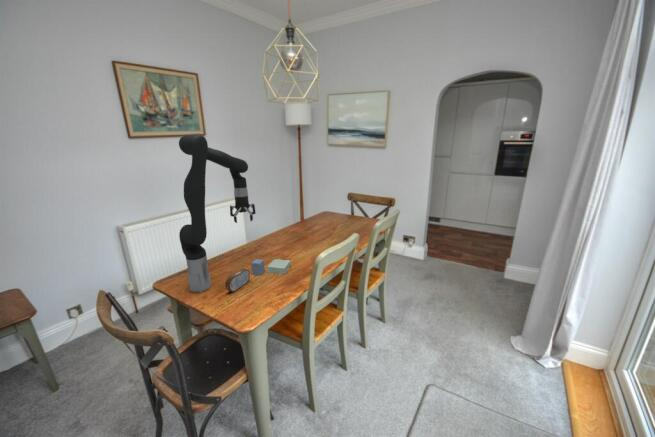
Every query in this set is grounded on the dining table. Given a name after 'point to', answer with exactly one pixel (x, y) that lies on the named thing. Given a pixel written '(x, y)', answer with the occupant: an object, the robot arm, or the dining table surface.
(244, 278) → the tin
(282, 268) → the sage tile
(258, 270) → the slate block
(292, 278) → the dining table surface
